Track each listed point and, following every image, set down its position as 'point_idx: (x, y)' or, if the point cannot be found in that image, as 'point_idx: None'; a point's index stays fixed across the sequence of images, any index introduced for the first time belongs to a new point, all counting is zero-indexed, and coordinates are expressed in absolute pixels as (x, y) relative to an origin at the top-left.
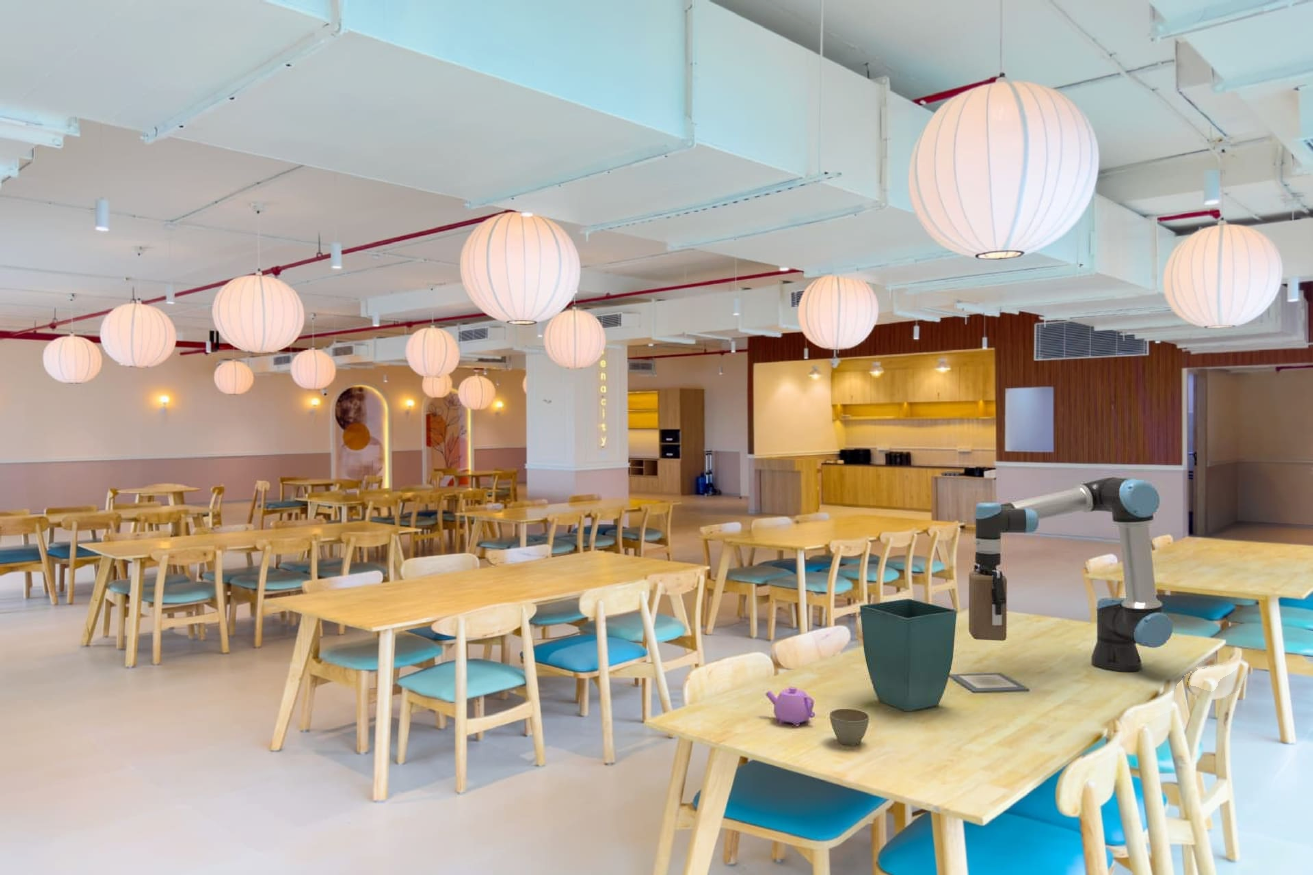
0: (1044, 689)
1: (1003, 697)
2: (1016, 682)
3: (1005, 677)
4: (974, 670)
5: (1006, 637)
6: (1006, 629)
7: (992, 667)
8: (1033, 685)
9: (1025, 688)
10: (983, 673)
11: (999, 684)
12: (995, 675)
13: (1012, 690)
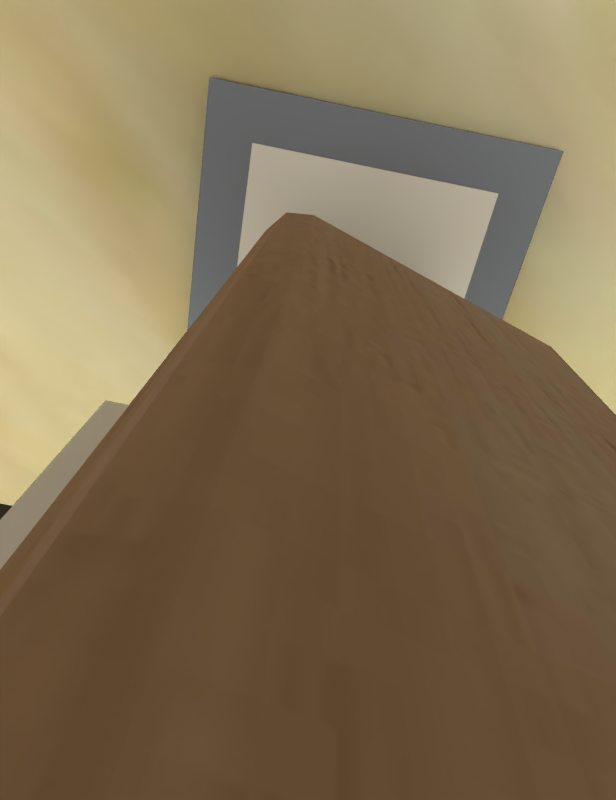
0: (581, 20)
1: (571, 366)
2: (422, 132)
3: (310, 125)
4: (100, 188)
5: (551, 347)
6: (586, 384)
7: (43, 9)
8: (482, 30)
9: (541, 168)
10: (202, 205)
11: (422, 268)
12: (262, 165)
13: (522, 259)
